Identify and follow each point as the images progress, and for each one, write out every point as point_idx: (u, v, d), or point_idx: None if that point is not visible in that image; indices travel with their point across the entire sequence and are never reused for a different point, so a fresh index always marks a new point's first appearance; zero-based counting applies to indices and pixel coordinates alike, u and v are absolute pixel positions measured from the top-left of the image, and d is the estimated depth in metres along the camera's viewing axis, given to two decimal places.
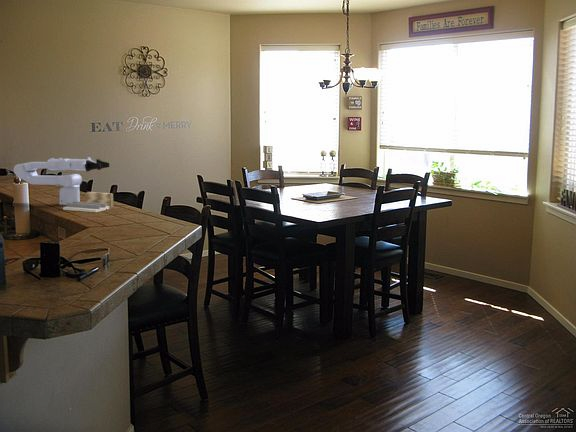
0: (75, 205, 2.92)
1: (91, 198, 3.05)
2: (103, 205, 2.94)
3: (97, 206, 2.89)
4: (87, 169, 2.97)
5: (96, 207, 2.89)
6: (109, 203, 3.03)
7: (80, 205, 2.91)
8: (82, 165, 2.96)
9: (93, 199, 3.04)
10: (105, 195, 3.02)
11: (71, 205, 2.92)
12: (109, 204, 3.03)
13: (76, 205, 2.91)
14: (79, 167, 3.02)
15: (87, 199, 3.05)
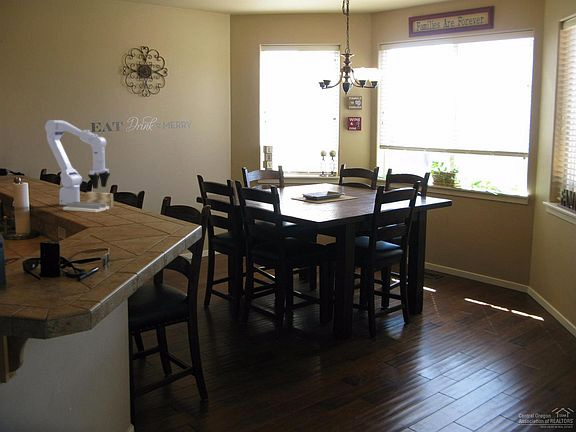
0: (75, 205, 2.92)
1: (91, 198, 3.05)
2: (103, 205, 2.94)
3: (97, 206, 2.89)
4: (89, 176, 2.98)
5: (96, 207, 2.89)
6: (109, 203, 3.03)
7: (80, 205, 2.91)
8: (91, 172, 2.96)
9: (93, 199, 3.04)
10: (105, 195, 3.02)
11: (71, 205, 2.92)
12: (109, 204, 3.03)
13: (76, 205, 2.91)
14: (94, 162, 3.00)
15: (87, 199, 3.05)
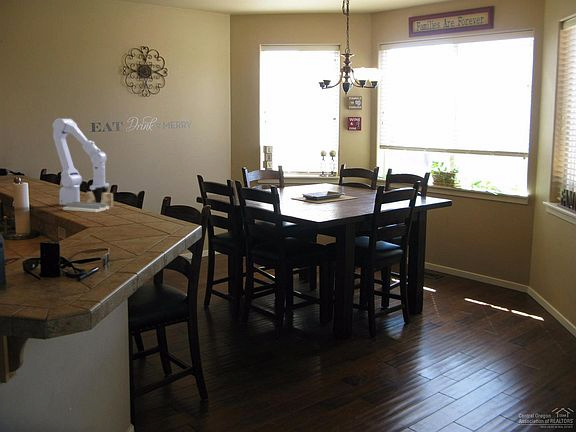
0: (75, 205, 2.92)
1: (91, 198, 3.05)
2: (103, 205, 2.94)
3: (97, 206, 2.89)
4: (92, 190, 3.01)
5: (96, 207, 2.89)
6: (109, 203, 3.03)
7: (80, 205, 2.91)
8: (92, 188, 2.97)
9: (93, 199, 3.04)
10: (105, 195, 3.02)
11: (71, 205, 2.92)
12: (109, 204, 3.03)
13: (76, 205, 2.91)
14: (94, 177, 3.01)
15: (87, 199, 3.05)
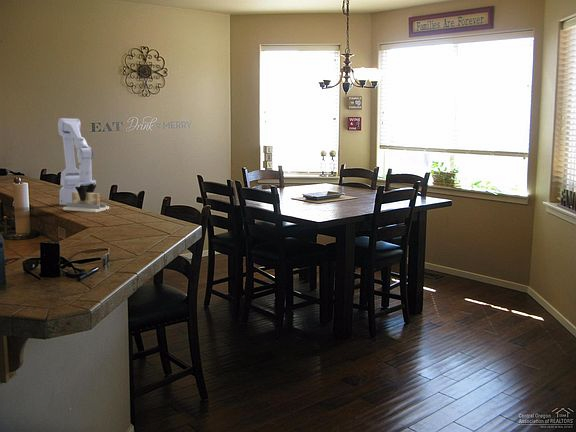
0: (75, 205, 2.92)
1: (77, 198, 2.93)
2: (103, 205, 2.94)
3: (97, 206, 2.89)
4: (76, 188, 2.88)
5: (96, 207, 2.89)
6: (95, 203, 2.91)
7: (80, 205, 2.91)
8: (77, 185, 2.85)
9: (79, 199, 2.93)
10: (91, 195, 2.91)
11: (71, 205, 2.92)
12: (95, 204, 2.91)
13: (76, 205, 2.91)
14: (80, 174, 2.89)
15: (73, 199, 2.94)
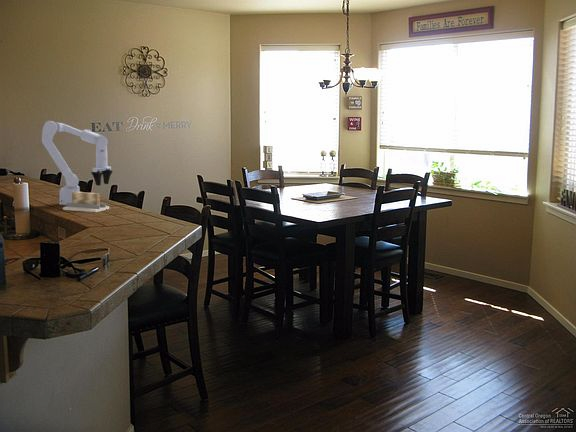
0: (75, 205, 2.92)
1: (77, 198, 2.93)
2: (103, 205, 2.94)
3: (97, 206, 2.89)
4: (92, 173, 3.07)
5: (96, 207, 2.89)
6: (95, 203, 2.91)
7: (80, 205, 2.91)
8: (94, 170, 3.05)
9: (79, 199, 2.93)
10: (91, 195, 2.91)
11: (71, 205, 2.92)
12: (95, 204, 2.91)
13: (76, 205, 2.91)
14: (97, 160, 3.09)
15: (73, 199, 2.94)
